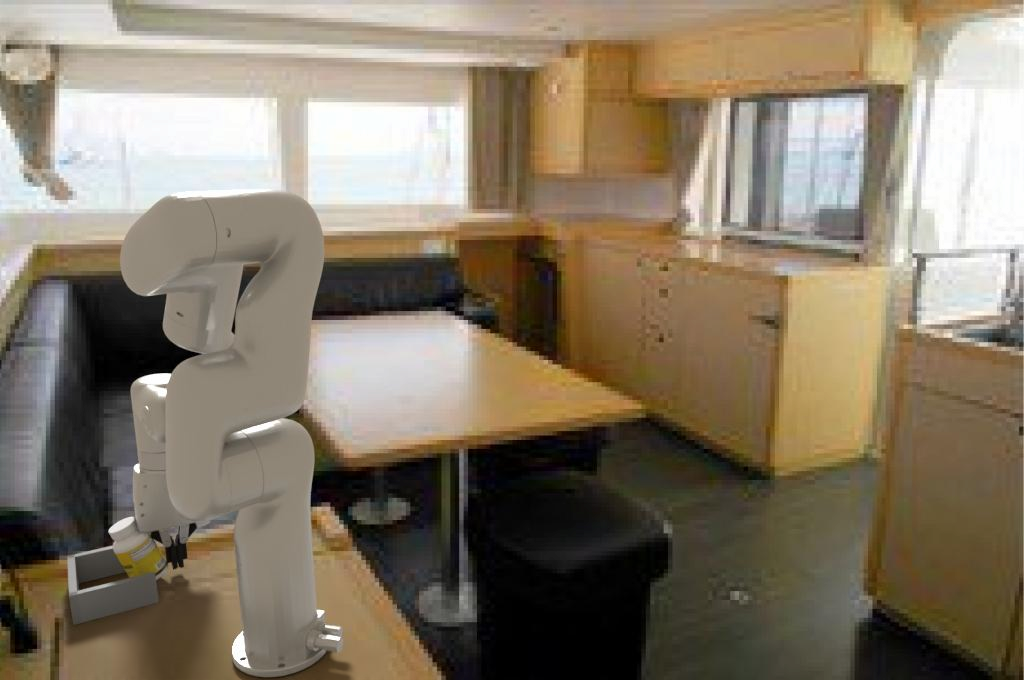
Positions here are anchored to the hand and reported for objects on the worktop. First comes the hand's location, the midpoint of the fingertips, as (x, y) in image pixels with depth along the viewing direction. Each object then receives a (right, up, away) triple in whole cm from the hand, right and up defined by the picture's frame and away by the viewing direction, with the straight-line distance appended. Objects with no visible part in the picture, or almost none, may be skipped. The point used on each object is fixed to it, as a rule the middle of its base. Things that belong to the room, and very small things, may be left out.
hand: (177, 564), depth 120 cm
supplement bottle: (-3, -1, -2) cm, 4 cm away
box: (-7, -3, -5) cm, 9 cm away
